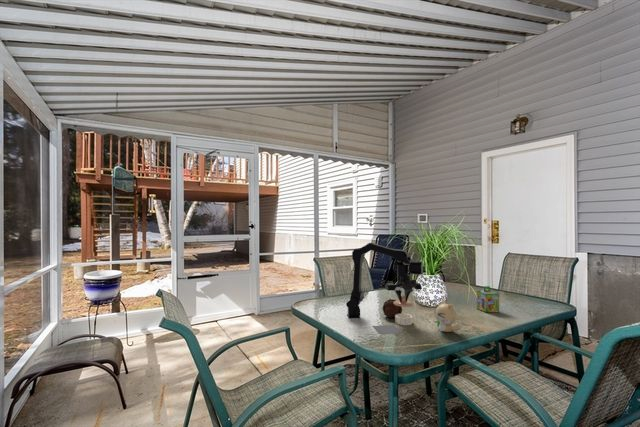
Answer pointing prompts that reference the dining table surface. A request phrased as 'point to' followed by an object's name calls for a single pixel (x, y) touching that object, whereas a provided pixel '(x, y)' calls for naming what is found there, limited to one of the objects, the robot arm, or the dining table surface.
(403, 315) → the bowl
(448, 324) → the kitten
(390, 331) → the mat
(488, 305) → the chalk box
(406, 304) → the lid
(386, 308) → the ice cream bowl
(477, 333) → the dining table surface
